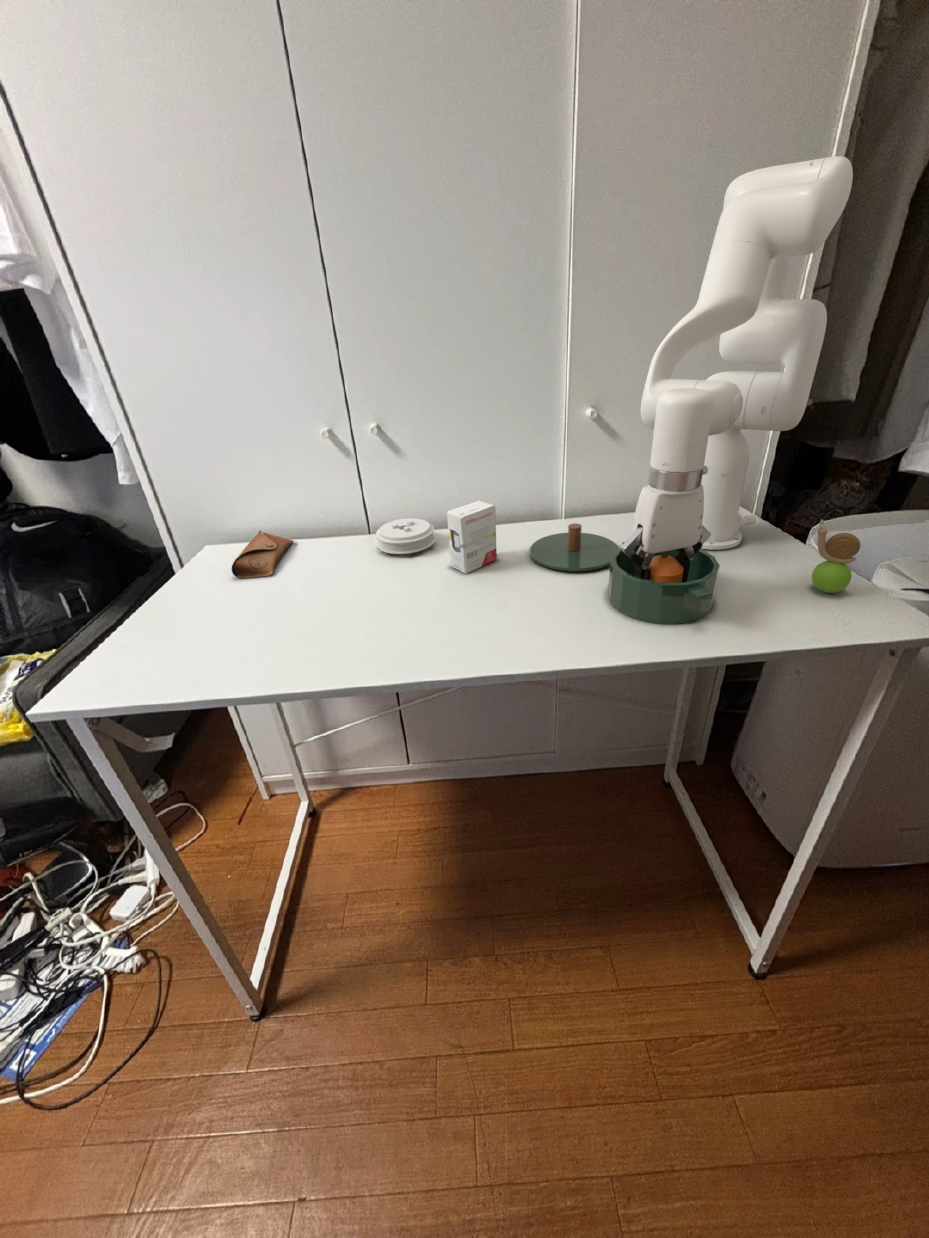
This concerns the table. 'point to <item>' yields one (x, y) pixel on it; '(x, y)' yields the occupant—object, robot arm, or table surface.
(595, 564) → the crock lid
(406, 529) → the white flat cylinder
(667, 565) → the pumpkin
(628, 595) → the crock
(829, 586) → the snail figurine
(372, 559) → the table surface
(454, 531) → the ink box
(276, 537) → the sunglasses case
